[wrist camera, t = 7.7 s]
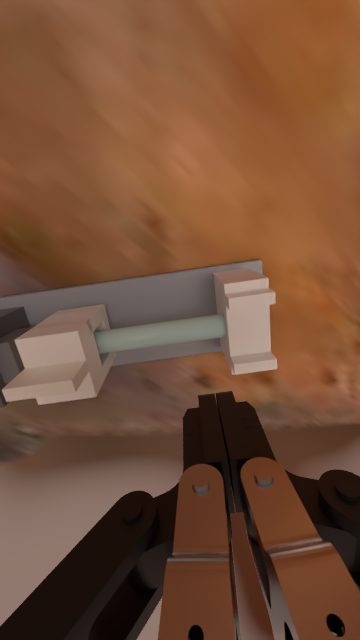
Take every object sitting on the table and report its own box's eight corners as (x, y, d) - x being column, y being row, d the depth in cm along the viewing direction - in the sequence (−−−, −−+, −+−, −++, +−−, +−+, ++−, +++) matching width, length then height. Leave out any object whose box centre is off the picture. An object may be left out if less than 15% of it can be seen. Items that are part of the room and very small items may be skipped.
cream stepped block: (104, 304, 22) (61, 347, 14) (116, 354, 24) (84, 421, 15) (57, 310, 22) (-12, 357, 14) (73, 360, 24) (18, 430, 15)
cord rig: (259, 259, 23) (294, 270, 16) (262, 341, 26) (294, 381, 19) (-27, 300, 24) (-108, 328, 17) (4, 377, 26) (-55, 427, 19)
